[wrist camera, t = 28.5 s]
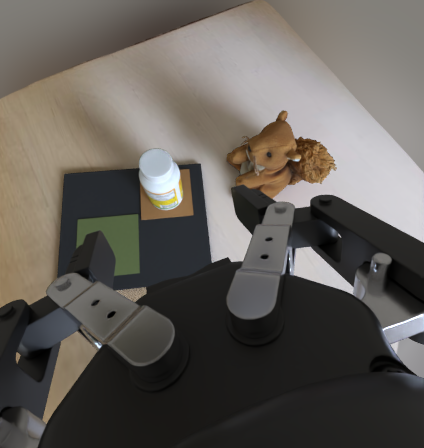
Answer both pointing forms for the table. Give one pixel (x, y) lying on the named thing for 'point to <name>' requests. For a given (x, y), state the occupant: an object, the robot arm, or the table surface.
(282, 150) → the stuffed squirrel
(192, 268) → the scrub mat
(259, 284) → the robot arm
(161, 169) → the supplement bottle
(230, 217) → the table surface
